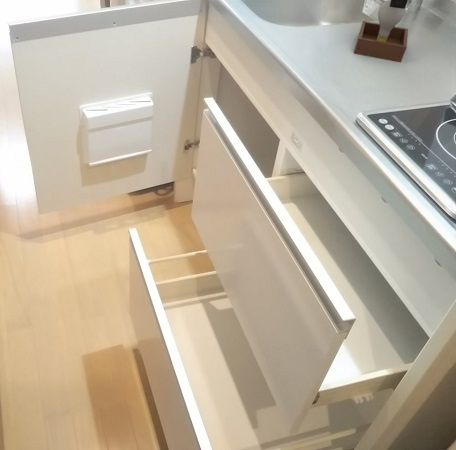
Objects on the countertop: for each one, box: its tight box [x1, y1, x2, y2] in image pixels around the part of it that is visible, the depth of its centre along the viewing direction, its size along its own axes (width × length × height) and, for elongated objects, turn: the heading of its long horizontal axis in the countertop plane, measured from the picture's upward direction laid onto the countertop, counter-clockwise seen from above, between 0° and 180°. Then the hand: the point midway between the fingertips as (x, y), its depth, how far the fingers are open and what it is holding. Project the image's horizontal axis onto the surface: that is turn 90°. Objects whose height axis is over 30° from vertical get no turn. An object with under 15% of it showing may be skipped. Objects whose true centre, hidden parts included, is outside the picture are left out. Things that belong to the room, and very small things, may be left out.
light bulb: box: [376, 0, 406, 42], centre depth 117 cm, size 6×5×10 cm
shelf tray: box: [353, 20, 409, 63], centre depth 120 cm, size 10×11×4 cm
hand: (398, 0), depth 114 cm, fingers open, 9 cm apart
